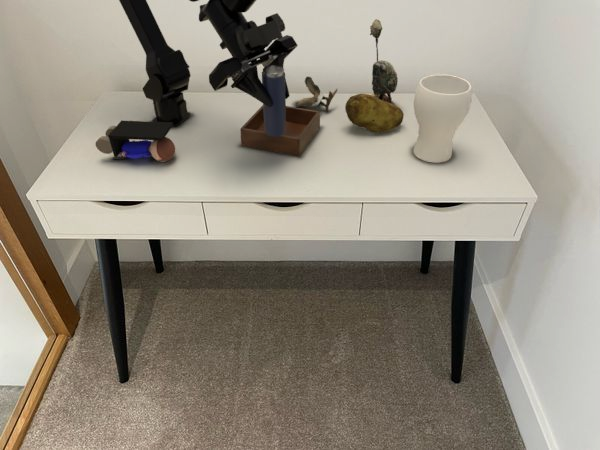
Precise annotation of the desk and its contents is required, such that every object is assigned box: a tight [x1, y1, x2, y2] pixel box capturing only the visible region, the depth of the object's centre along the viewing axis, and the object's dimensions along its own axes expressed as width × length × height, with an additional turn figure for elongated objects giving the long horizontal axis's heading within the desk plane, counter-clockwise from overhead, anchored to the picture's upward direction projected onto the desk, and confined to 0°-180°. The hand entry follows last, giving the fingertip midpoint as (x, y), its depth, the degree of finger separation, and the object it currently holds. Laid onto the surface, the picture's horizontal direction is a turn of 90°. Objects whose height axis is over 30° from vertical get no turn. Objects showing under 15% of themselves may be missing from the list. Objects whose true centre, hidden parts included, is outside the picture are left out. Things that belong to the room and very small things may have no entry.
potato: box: [344, 93, 405, 133], centre depth 110 cm, size 8×13×8 cm, turn 82°
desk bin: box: [239, 104, 321, 157], centre depth 109 cm, size 13×13×4 cm
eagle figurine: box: [294, 76, 338, 113], centre depth 119 cm, size 8×7×9 cm
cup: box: [413, 73, 473, 164], centre depth 100 cm, size 11×11×15 cm
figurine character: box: [95, 120, 176, 163], centre depth 101 cm, size 7×8×15 cm
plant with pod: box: [369, 18, 398, 107], centre depth 114 cm, size 8×11×20 cm
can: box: [261, 65, 287, 136], centre depth 94 cm, size 4×4×12 cm
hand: (279, 101), depth 93 cm, fingers closed on can, 4 cm apart
